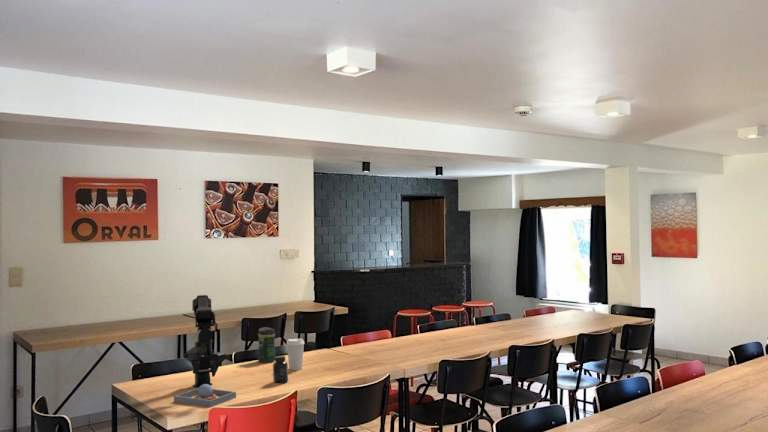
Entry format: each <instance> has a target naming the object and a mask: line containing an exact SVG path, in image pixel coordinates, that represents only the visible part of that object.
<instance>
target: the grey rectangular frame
mask: <svg viewBox="0 0 768 432" xmlns="http://www.w3.org/2000/svg"><path fill="white" fill-rule="evenodd" d="M198 389H199V387H197V388H194V389H191V390H188V391H185V392H182V393H179V394H176V395H173V402H174V403H179V404H187V405H192V406H199V407H207V408H212V407H214V406H217V405H220V404H223V403H226V402H229V401H231V400H233V399H236V398H237V391H231V390H223V389H217V388H216V389H215V388H212V394H211V396H210V397H209V398H201V397H200V396H199V395H198Z"/></svg>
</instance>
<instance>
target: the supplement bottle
mask: <svg viewBox="0 0 768 432" xmlns="http://www.w3.org/2000/svg"><path fill="white" fill-rule="evenodd" d="M288 368H289V363H288V362H287V361H286V356H285V355H277V356H276V355H275V361H274V362H273V365H272V373H273V374H272V375H273V377H272V378H273V383H274V384H285V383H288V381H289V369H288Z"/></svg>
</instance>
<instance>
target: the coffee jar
mask: <svg viewBox="0 0 768 432" xmlns="http://www.w3.org/2000/svg"><path fill="white" fill-rule="evenodd" d="M257 336H258V361H259V362H261V363H272V362H273V363H274V362H276V361H275V357H276V349H275V348H276V347H275V346H276V345H275V341H276V340H275V339H276V338H275V336H276V332H275V329H274V328H272V327H267V326H265V327H264V326H263V327H260V328H259V329H258V332H257Z"/></svg>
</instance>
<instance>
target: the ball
mask: <svg viewBox="0 0 768 432" xmlns="http://www.w3.org/2000/svg"><path fill="white" fill-rule="evenodd" d="M198 388H199V389H198V395H199V396H200V397H201V398H209V397H210V396H211V394H212V389H213V387H212V386H211V385H208V384H203V385H201V386H200V387H198Z"/></svg>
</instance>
